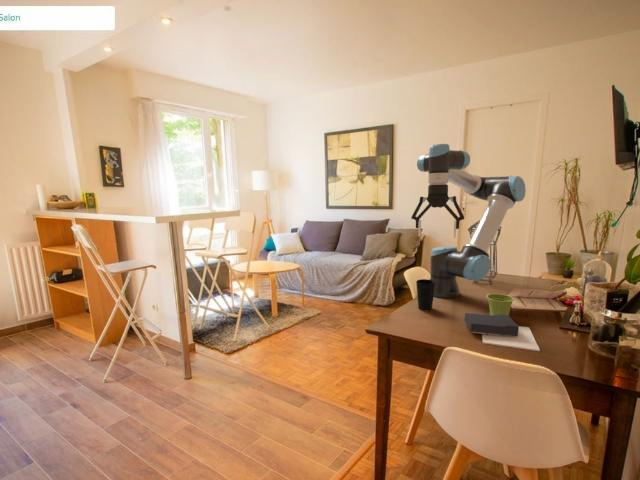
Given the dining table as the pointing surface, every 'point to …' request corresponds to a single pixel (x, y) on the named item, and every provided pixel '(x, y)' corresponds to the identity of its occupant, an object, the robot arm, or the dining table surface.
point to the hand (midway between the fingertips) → (436, 236)
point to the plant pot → (499, 304)
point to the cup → (425, 294)
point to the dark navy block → (491, 324)
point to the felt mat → (513, 340)
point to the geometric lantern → (490, 253)
